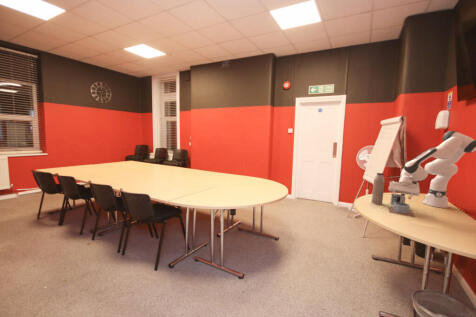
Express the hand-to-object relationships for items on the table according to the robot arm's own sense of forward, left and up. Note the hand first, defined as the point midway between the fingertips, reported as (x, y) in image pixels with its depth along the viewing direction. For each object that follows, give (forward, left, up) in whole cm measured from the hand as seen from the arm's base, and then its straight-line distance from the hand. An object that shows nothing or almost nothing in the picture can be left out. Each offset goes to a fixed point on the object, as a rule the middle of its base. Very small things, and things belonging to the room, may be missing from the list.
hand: (402, 197), depth 176 cm
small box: (-15, -1, -13) cm, 20 cm away
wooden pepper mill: (-12, -16, -13) cm, 24 cm away
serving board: (+2, 0, -13) cm, 13 cm away
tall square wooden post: (+2, 0, -10) cm, 10 cm away
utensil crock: (+2, 0, -11) cm, 11 cm away
